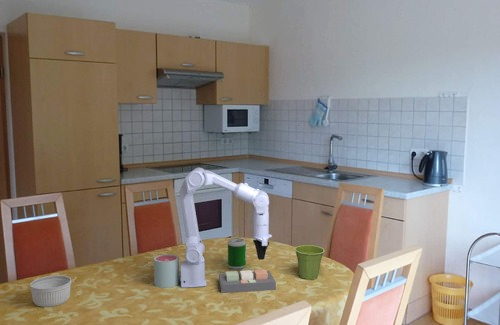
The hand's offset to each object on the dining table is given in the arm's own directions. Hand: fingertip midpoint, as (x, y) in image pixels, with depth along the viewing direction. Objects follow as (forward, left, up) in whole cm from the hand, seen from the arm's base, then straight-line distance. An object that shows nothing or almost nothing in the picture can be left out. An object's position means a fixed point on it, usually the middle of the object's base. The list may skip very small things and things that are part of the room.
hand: (261, 259), depth 173 cm
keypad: (-6, 0, -10) cm, 11 cm away
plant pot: (+20, +5, -10) cm, 23 cm away
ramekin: (-75, -3, -10) cm, 75 cm away
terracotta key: (0, 0, -8) cm, 8 cm away
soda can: (-7, +20, -10) cm, 23 cm away
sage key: (-11, 0, -8) cm, 14 cm away
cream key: (-5, 0, -8) cm, 10 cm away
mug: (-35, +9, -10) cm, 37 cm away
